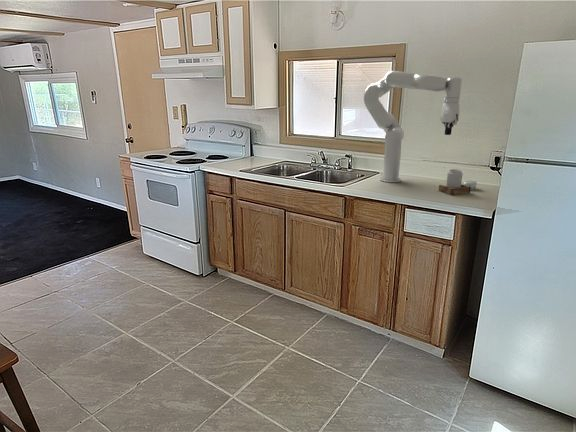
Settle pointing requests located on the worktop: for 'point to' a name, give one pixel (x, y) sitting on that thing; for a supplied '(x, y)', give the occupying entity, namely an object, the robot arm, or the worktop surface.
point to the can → (454, 178)
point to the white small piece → (470, 184)
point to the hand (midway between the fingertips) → (447, 134)
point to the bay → (455, 190)
